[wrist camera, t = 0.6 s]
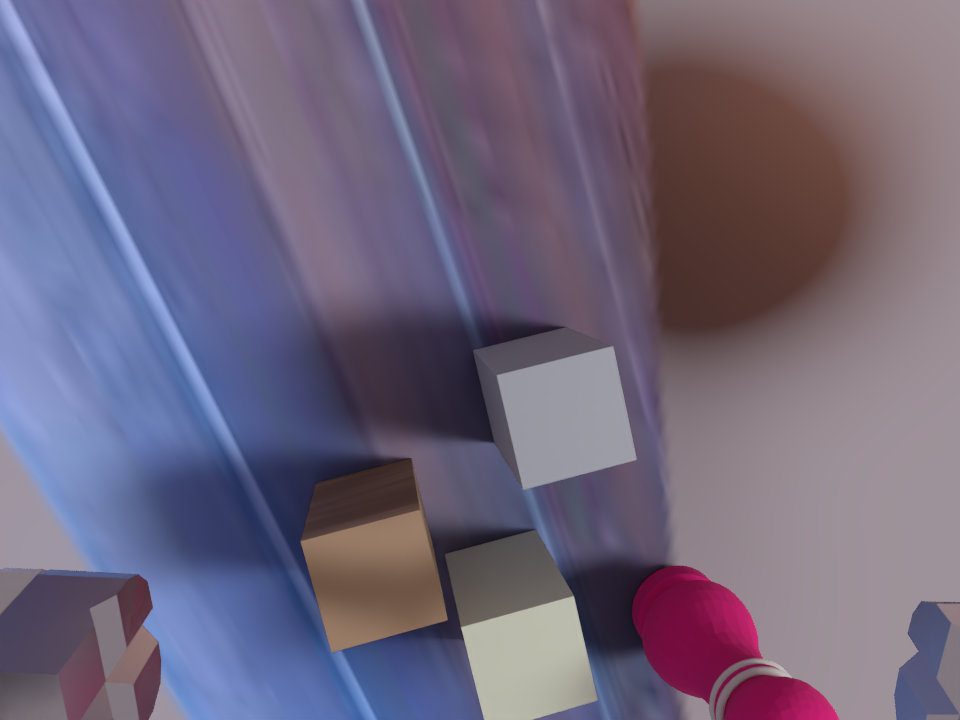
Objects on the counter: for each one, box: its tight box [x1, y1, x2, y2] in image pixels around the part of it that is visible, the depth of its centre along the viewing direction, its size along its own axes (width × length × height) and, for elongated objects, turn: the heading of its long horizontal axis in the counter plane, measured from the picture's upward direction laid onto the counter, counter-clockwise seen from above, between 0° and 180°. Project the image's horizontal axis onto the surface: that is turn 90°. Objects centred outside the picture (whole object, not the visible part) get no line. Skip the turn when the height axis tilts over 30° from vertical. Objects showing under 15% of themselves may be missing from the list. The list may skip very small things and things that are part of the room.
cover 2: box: [445, 530, 598, 720], centre depth 51 cm, size 6×6×11 cm
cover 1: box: [473, 327, 637, 490], centre depth 50 cm, size 6×6×11 cm
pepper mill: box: [632, 566, 839, 720], centre depth 48 cm, size 7×7×20 cm
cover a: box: [301, 459, 448, 652], centre depth 49 cm, size 6×6×11 cm
